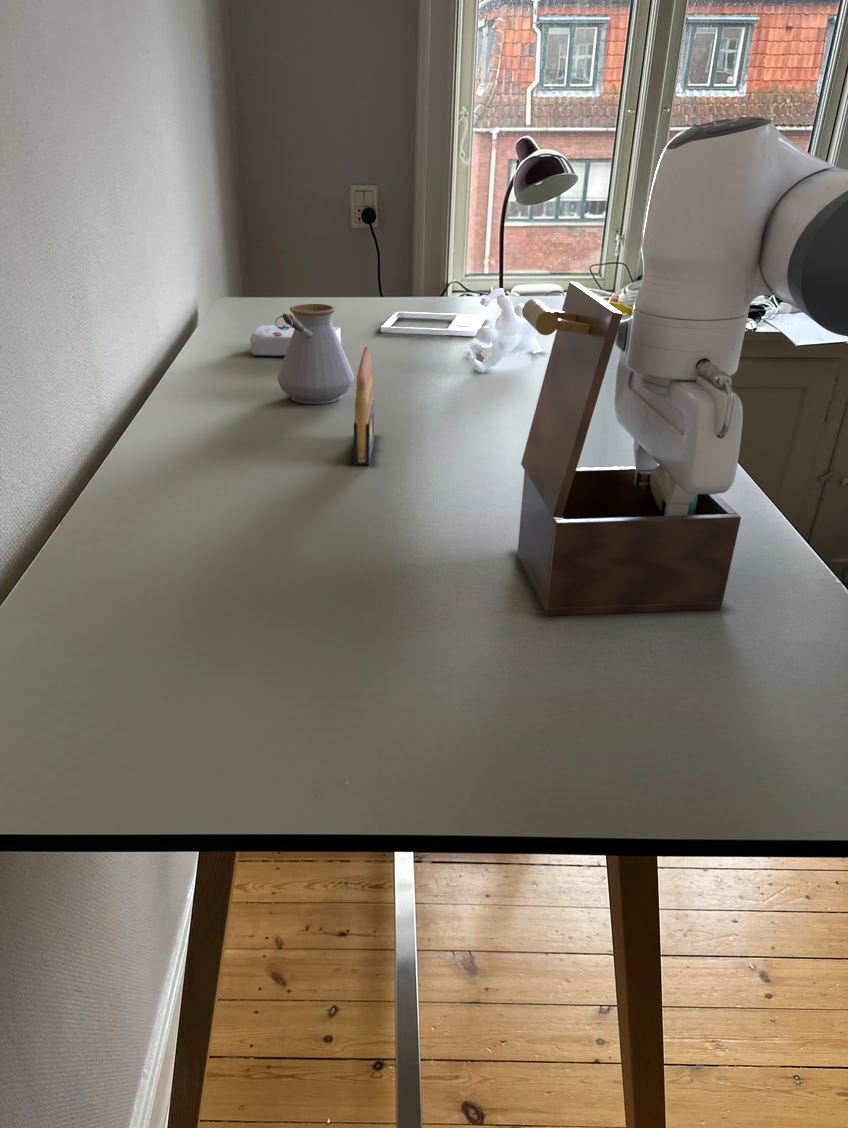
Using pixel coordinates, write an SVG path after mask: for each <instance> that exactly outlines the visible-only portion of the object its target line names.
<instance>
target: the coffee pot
mask: <svg viewBox="0 0 848 1128" xmlns="http://www.w3.org/2000/svg"><path fill="white" fill-rule="evenodd" d="M289 310H290V312H291V313H292V314H289V313H282V315H280V316H278V317H276V319H275V322H274V324H275V326H277V327H278V326H279V325H278V324H277V322H278V320H279V319H280V318H282V319H283V321H284V323H285V324H287V325H288V326H290V327H292V328H294V332H293V334H292V337H291V340H290V343H289V346H288V349H287V352H286V354H285V356H283V360H282V363H281V366H280V368H279V372H278V375H277V378H276V379H277V382H278V385H279V387H280V389H281V390H282V391H283V392H284V393H285V394H286V395H288V396H290V399H291V400H292V401H293V402H297V403H301V404H309V405H319V404H321V405H322V404H330V403H334V402H336V401H337V402H338V401H339V400H341V399H342V398H343V395H344V394H346V393H347V392H348V391H349V390H350V389H351V388H352V385H353V383H354V380H355V375H354V372H353V369H352V367H351V365H350V363H349V360H348V358H347V355H346V354H345V350H344V348H343V346H342V343H341V342H340V341H339V339H338V337H337V334H336V332H335V330H334V327H335V326H334V325H333V323H332V321H333V315H334V313H335V312H336V310H337V308H336V307H335V305H332V304H326V303H304V304H298V305H294V306H290V307H289ZM290 327H289V328H290ZM278 328H279V327H278ZM289 328H287V329H289ZM279 329H281V328H279ZM287 329H281V330H287Z"/></svg>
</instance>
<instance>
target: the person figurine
mask: <svg viewBox="0 0 848 1128" xmlns="http://www.w3.org/2000/svg"><path fill="white" fill-rule="evenodd" d="M494 299H495V300H496V303H497V306H498V307H499V308H500V310H501V311H500V314H499V316H498V317H497V318H496V320H495V323H494V326H493V325H489V326H488V325H485V326H481V327H480V328H479V329H477V332H476V335H475V337H476V339H477V341H479V342H480V343H483V344H486V345H487V346H484V345H481V344H477V343H473V342H471V343H469V348H470V350H471V351H468V352H467V353H466V358H467V359H468V360H469V361H470V363H471V365H472V366H473V368H474V369H475V370H476V371H477V372H478V373H485V372H486V371H487V370H488V369H489V368H492V367H495V366H497V365H498V364H499V363H500V362H501V360H502V359H504V358H509V357H512V356H515V355H520V354H524V353H527V352H529V351H530V350H531V349H532V353H533V354H539V353H540V352H542V351H543V350H542V348H541V347H540V342H539V341H538V339H537V336H538V333H539V332H538V331H537V330H536V329H535V328H534V327H533V326H532V325H531V324H530V323H529V322H528V321H527V320H526V319H525V318H524V317H523V313H522V310H523V307H524V305H525V304H523V303H518V304H517V305H516V306H515V308H514V305H513V303H512V301H511V299H510V298H509V297H508V296H507V295H506V293H505V290H504V288H501V287H498V288H495V289H493V290H492V291H491V292H490V293H488V294H487V295H486V296H484V297H483V298H481V300H480V302H479V303H480V305H481V306H484V307H487V306H489V305H490V304H491V300H494ZM491 343H492V344H491ZM476 354H480V356H481V357H482V358H483V359H482V362H481V361H480V360H478V359H477V355H476Z"/></svg>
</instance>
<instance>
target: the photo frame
mask: <svg viewBox="0 0 848 1128" xmlns="http://www.w3.org/2000/svg"><path fill="white" fill-rule="evenodd" d="M399 318H411V319H413V318H414V319H438V320H453V321H452V322H451V323H450V325H449V326H448V328H430V327H409V326H408V327H407V326H393V324H394V323H395V322H396V321H397V320H398V319H399ZM485 320H486V315H485V314H466V313H465V314H464V313H443V312H419V311H417V312H415V311H396V312H395V313H393V314H392V315H391V316H390V317H389V318H388V319H387V320H386V321H385V322H384V323H383V324H382V325H381V326H380V333H395V334H396V333H397V334H419V335H437V336H438V335H440V336H462V337H476V332H477V329H479V328H480V327H482V326H483V324H484V322H485Z"/></svg>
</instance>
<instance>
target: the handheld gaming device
mask: <svg viewBox="0 0 848 1128" xmlns="http://www.w3.org/2000/svg"><path fill="white" fill-rule="evenodd" d="M277 326H278V327H279V328H281V329H287V328H289V327H290V325H277ZM277 326H276V325H270V324H269V325H267V324H266V325H264V324H263V325H262V324H261V325H259V326H258V327H257V328H256V329H255V330H254V331H253V332H252V334H251V336H250V339H249V345H250V353H251V354H253V356H262V357H265V356H266V357H285V354H286V352H287V349H288V346H289V343H290V340H291V337H292V334H293V332H294V328H292V327H290V328H289V329H287V330H281V329H279V328H278V327H277ZM333 327H334V330H335V332H336V334H337V337H338V339H339V341H340V343H341V342H342V341H341V340H342V339H341V327H340V326H333Z"/></svg>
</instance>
